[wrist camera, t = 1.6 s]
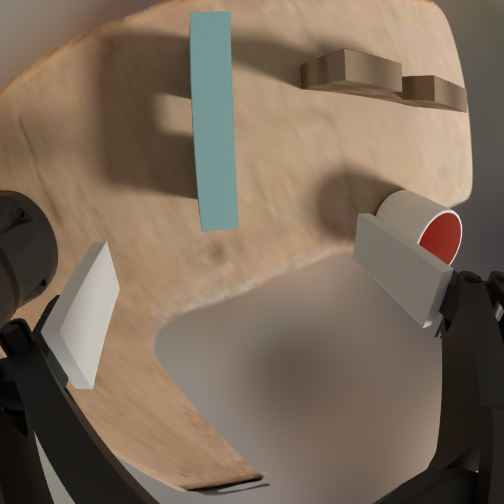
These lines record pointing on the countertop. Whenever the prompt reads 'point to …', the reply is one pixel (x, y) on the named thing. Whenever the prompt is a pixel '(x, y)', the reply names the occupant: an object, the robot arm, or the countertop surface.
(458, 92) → the u-notched wood block
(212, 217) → the teal arch piece
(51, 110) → the countertop surface
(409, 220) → the cup
